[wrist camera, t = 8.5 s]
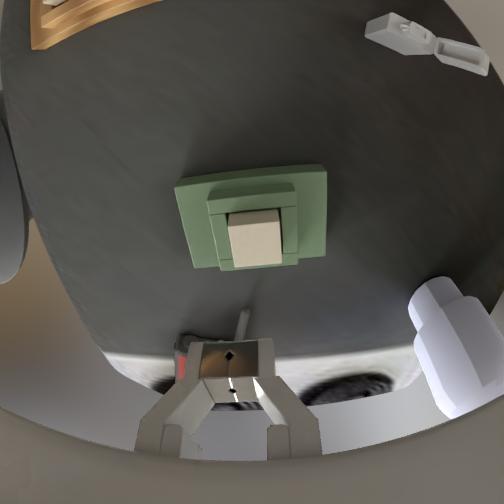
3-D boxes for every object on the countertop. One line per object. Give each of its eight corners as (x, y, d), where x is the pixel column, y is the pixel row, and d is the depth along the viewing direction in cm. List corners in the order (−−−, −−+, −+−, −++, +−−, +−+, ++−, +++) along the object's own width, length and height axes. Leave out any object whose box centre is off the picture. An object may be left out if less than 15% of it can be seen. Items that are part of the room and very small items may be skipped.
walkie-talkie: (231, 386, 42) (256, 300, 31) (230, 410, 38) (257, 331, 28) (177, 379, 41) (177, 289, 30) (173, 402, 37) (169, 318, 26)
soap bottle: (434, 253, 28) (538, 435, 8) (470, 279, 31) (550, 420, 11) (382, 313, 33) (441, 491, 13) (425, 328, 36) (480, 469, 16)
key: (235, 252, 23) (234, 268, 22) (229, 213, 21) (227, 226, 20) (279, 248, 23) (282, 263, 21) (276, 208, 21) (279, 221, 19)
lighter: (363, 36, 16) (414, 23, 10) (367, 20, 15) (417, 2, 9) (432, 70, 17) (492, 78, 10) (435, 54, 16) (495, 58, 9)
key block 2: (197, 254, 28) (191, 281, 24) (179, 178, 23) (168, 196, 20) (320, 243, 27) (330, 268, 24) (320, 163, 23) (333, 178, 19)
